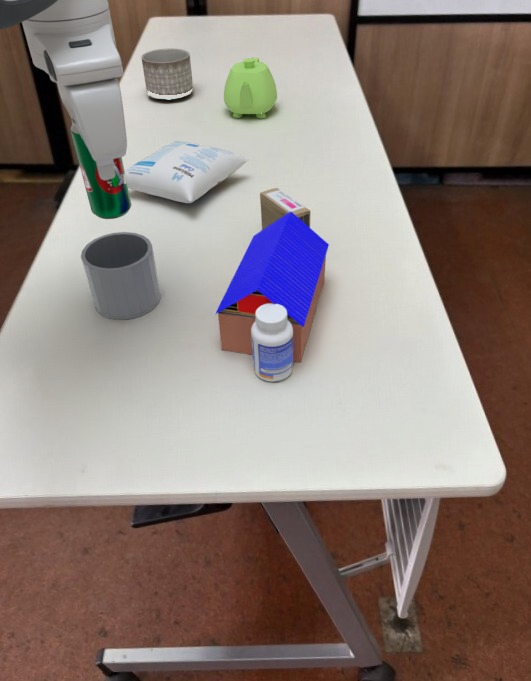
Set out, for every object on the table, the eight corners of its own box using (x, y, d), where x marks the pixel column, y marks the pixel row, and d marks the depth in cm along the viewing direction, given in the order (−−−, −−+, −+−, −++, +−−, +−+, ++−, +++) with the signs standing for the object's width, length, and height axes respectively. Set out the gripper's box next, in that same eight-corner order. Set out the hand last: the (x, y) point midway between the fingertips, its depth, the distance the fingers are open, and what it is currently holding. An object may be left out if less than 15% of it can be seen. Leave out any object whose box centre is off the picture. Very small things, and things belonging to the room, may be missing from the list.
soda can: (95, 202, 75) (72, 110, 67) (134, 200, 75) (115, 108, 67) (89, 222, 71) (64, 127, 63) (130, 219, 72) (110, 124, 64)
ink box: (310, 254, 98) (312, 210, 92) (292, 261, 96) (292, 216, 91) (278, 228, 104) (277, 185, 99) (260, 234, 103) (259, 191, 97)
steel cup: (103, 327, 85) (89, 277, 79) (88, 290, 92) (74, 242, 86) (169, 308, 88) (160, 259, 82) (150, 273, 95) (141, 226, 89)
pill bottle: (301, 370, 77) (302, 314, 71) (269, 389, 74) (268, 332, 68) (275, 349, 80) (275, 293, 74) (245, 366, 78) (241, 310, 71)
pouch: (173, 125, 122) (108, 157, 109) (249, 145, 114) (189, 182, 101) (176, 160, 127) (114, 195, 114) (249, 182, 120) (192, 222, 107)
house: (218, 351, 80) (211, 283, 72) (255, 270, 95) (252, 207, 87) (302, 364, 78) (304, 296, 70) (326, 279, 92) (330, 215, 84)
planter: (198, 88, 161) (194, 48, 154) (187, 104, 152) (183, 63, 145) (154, 87, 163) (149, 48, 156) (141, 103, 153) (135, 62, 147)
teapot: (271, 127, 139) (271, 73, 131) (217, 126, 141) (213, 72, 132) (281, 98, 154) (281, 48, 145) (232, 97, 155) (229, 47, 147)
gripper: (28, 23, 66) (60, 140, 75) (57, 74, 52) (92, 209, 61) (82, 16, 68) (107, 130, 77) (125, 63, 54) (149, 196, 63)
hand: (101, 166), depth 69 cm, fingers closed on soda can, 5 cm apart
